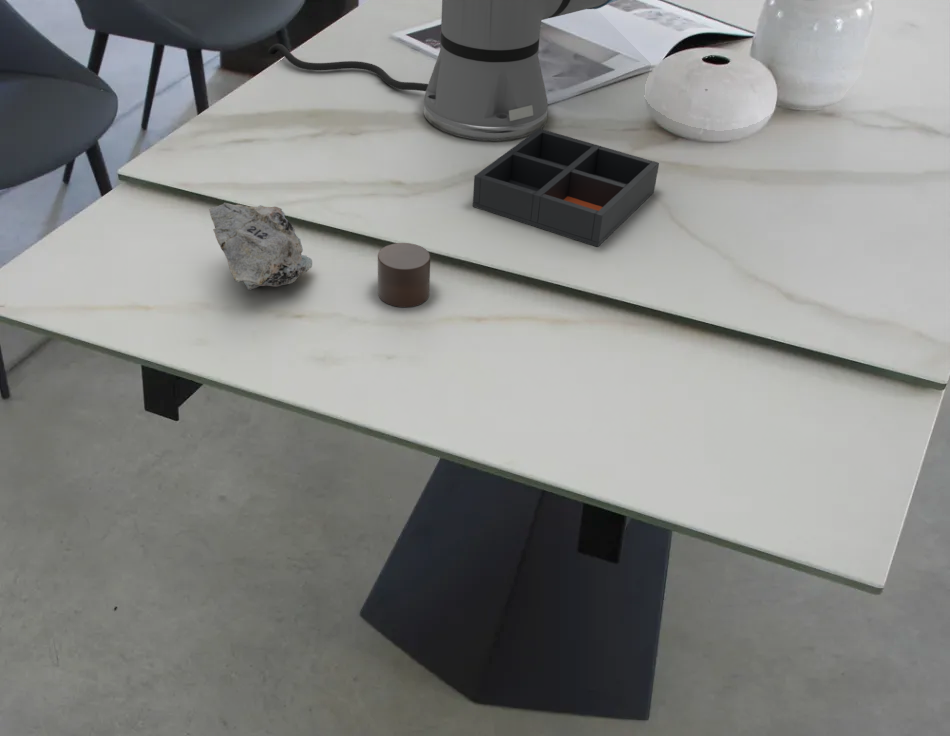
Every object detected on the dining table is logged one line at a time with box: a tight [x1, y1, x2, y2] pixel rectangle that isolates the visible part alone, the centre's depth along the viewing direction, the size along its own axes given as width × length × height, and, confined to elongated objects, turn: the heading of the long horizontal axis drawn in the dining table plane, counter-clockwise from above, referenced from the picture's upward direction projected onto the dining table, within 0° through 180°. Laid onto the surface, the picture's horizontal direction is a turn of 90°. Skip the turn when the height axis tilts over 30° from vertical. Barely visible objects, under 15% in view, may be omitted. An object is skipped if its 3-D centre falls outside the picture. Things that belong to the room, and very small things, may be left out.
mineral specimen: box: [208, 202, 313, 291], centre depth 95 cm, size 10×8×10 cm
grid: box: [472, 128, 660, 247], centre depth 111 cm, size 15×15×4 cm
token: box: [377, 242, 431, 308], centre depth 95 cm, size 5×5×4 cm
